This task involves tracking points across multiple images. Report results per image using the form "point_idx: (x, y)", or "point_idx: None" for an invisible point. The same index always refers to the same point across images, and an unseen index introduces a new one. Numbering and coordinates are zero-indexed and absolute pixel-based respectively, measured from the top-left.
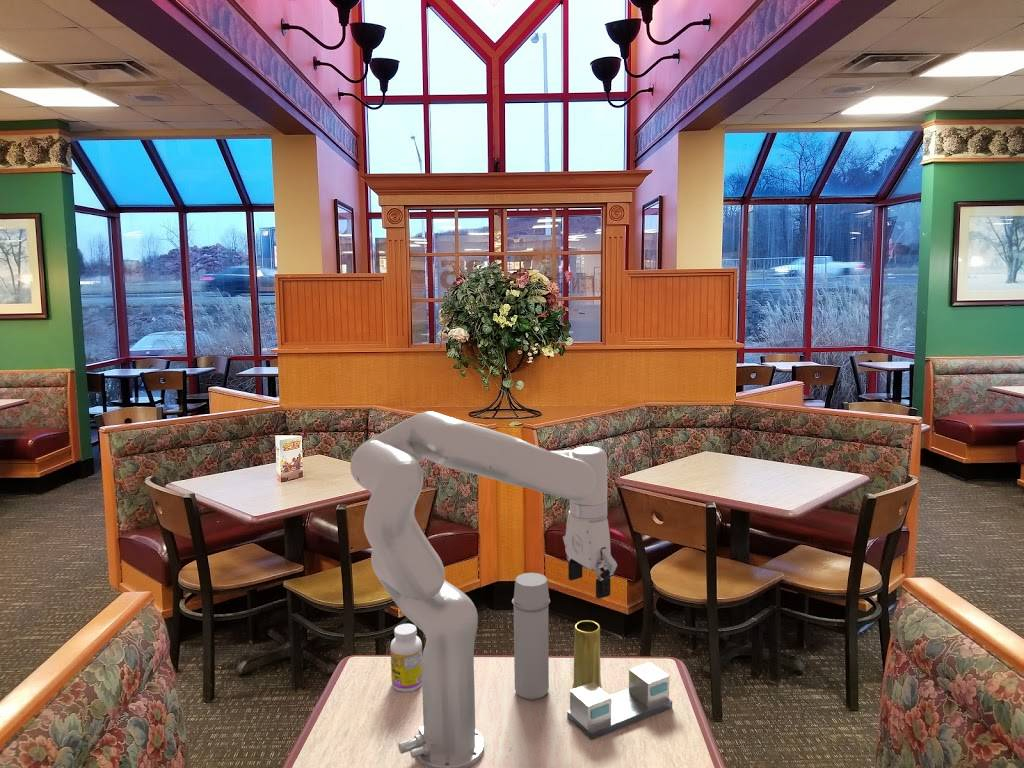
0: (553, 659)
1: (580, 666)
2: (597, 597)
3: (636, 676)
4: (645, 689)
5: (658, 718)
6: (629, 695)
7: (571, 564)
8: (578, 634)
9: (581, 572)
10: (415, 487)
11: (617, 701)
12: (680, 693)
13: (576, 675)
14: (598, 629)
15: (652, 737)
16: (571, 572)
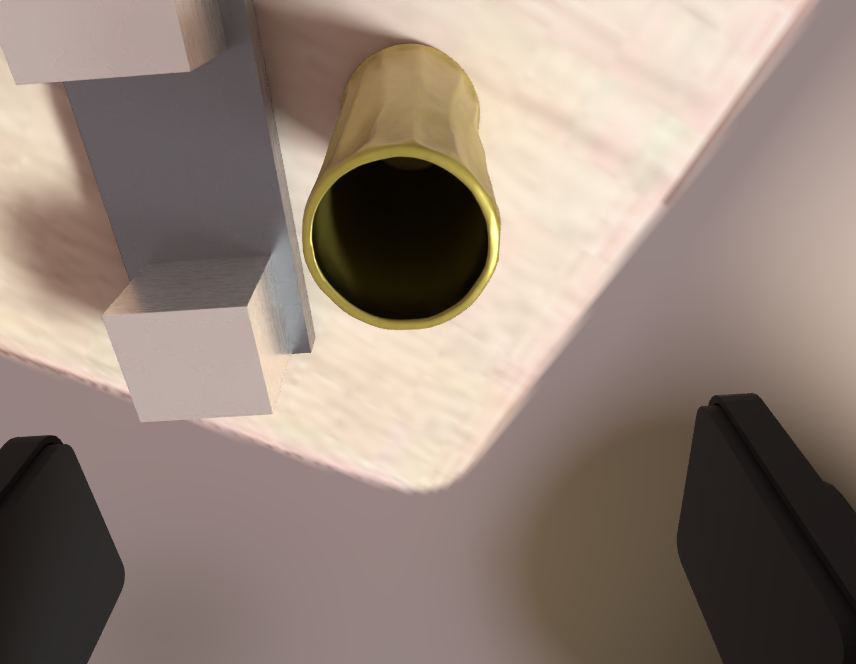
0: (714, 99)
1: (368, 90)
2: (8, 444)
3: (191, 305)
4: (136, 295)
5: (117, 269)
6: (244, 243)
7: (834, 637)
8: (375, 139)
9: (702, 598)
10: None
11: (218, 172)
12: None
13: (403, 68)
14: (325, 292)
15: (3, 182)
16: (752, 498)
